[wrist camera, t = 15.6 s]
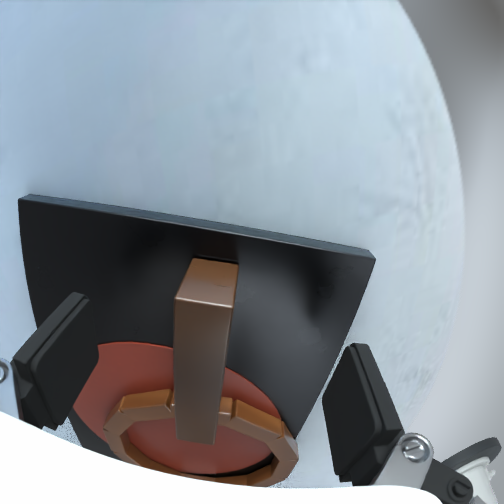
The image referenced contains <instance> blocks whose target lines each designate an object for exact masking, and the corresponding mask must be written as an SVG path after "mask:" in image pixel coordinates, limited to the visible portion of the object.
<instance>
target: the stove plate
mask: <svg viewBox="0 0 504 504" xmlns="http://www.w3.org/2000/svg"><path fill="white" fill-rule="evenodd" d="M18 211H19V225H20V236H21V245H22V254H23V261H24V268H25V274H26V280H27V285H28V290H29V295H30V300H31V305H32V309H33V314H34V318H35V322H36V326H37V329H38V328H39V327H40V326H41V325H42V323H43V322H44V321H45V320H46V319H47V318H48V317H49V316H50V315H51V314H52V313H53V312H54V311H55V310H56V309H57V307H58V306H59V305H60V304H61V303H62V302H63V301H64V300H65V299H66V298H67V297H68V296H69V295H70V294H71V293H73V292H76V293H80V294H83V295H86V296H88V298H89V300H90V301H91V302H92V307H93V316H94V324H95V331H96V338H97V344H98V350H99V360H98V363H97V365H96V366H95V368H94V370H93V372H92V373H91V375H90V377H89V378H88V380H87V382H86V384H85V385H84V387H83V389H82V391H81V392H80V394H79V396H78V398H77V399H76V401H75V403H74V405H73V407H72V408H71V410H70V412H69V414H68V418H69V420H70V422H71V425H72V427H73V429H74V431H75V433H76V435H77V437H78V439H79V441H80V443H81V445H82V447H83V448H85V449H88V450H90V451H93V452H96V453H99V454H101V455H104V456H107V457H110V458H113V459H116V460H119V461H123V460H121V459H120V458H119V457H118V456H117V455H115V454H114V453H113V451H111V449H110V446H109V444H108V442H107V439H106V437H105V434H104V432H103V425H104V422H105V420H106V418H107V415H108V414H109V413H110V411H111V410H112V409H113V408H114V407H115V406H116V404H117V403H118V402H119V401H120V400H121V399H122V397H123V396H125V397H126V396H127V395H131V394H138V393H145V392H152V391H158V390H164V389H171V391H172V392H173V391H174V374H173V315H174V297H175V295H176V293H177V291H178V289H179V286H180V284H181V282H182V280H183V278H184V276H185V274H186V271H187V269H188V267H189V265H190V263H191V261H192V259H193V258H197V259H203V260H210V261H217V262H223V263H230V264H237V265H239V272H238V280H237V288H236V296H235V305H234V312H233V319H232V326H231V332H230V339H229V346H228V353H227V360H226V367H225V374H224V381H223V388H222V395H221V396H222V397H229V398H232V399H233V402H234V401H235V400H240V401H242V402H244V403H246V404H248V405H250V406H252V407H254V408H256V409H258V410H261V411H263V412H265V413H267V414H269V415H272V416H274V417H276V418H278V419H280V420H281V421H283V422H284V423H285V425H286V427H287V428H288V430H289V432H290V433H291V435H292V436H293V438H294V440H295V439H296V437H297V435H298V434H299V432H300V430H301V428H302V426H303V425H304V423H305V421H306V419H307V417H308V415H309V414H310V412H311V410H312V408H313V406H314V404H315V402H316V400H317V398H318V396H319V394H320V392H321V390H322V388H323V386H324V384H325V382H326V380H327V378H328V376H329V374H330V372H331V370H332V368H333V365H334V363H335V361H336V359H337V357H338V355H339V352H340V350H341V348H342V346H343V343H344V341H345V339H346V336H347V334H348V332H349V329H350V327H351V325H352V322H353V320H354V317H355V315H356V312H357V310H358V307H359V305H360V302H361V300H362V297H363V294H364V292H365V289H366V286H367V284H368V281H369V278H370V275H371V273H372V270H373V267H374V264H375V261H376V258H375V257H374V256H373V255H372V254H371V252H370V251H369V250H366V249H361V248H356V247H351V246H345V245H340V244H335V243H330V242H325V241H319V240H314V239H309V238H304V237H298V236H293V235H287V234H282V233H276V232H271V231H265V230H260V229H254V228H248V227H243V226H237V225H231V224H225V223H219V222H213V221H207V220H202V219H195V218H189V217H183V216H177V215H171V214H165V213H158V212H152V211H145V210H139V209H132V208H126V207H119V206H112V205H106V204H99V203H92V202H85V201H78V200H70V199H63V198H56V197H48V196H40V195H33V194H29V195H27V196H24V197H22V198H19V199H18ZM126 430H127V434H128V437H129V440H130V442H131V443H132V444H133V445H134V446H135V447H136V448H137V449H139V450H140V451H141V452H142V453H143V454H144V455H146V456H147V457H148V458H149V459H150V460H152V461H155V462H157V463H159V464H162V465H164V466H166V467H169V468H171V469H173V470H176V471H178V472H181V473H186V474H192V475H198V476H205V477H212V478H221V477H232V476H241V475H248V474H250V473H252V472H255V471H257V470H259V469H261V468H263V467H265V466H267V465H270V464H271V462H272V460H273V458H274V456H275V455H274V454H273V452H272V451H271V450H270V449H269V447H268V446H267V445H266V443H265V442H262V441H260V440H257V439H255V438H252V437H250V436H247V435H245V434H242V433H240V432H238V431H235V430H233V429H231V428H228V427H226V426H220V425H217V431H216V438H215V444H214V445H208V444H201V443H195V442H189V441H184V440H178V439H177V438H176V427H175V418H168V419H159V420H148V421H136V422H134V423H133V424H132V425H131V426H130V427H129V428H128V429H126ZM123 462H124V461H123Z"/></svg>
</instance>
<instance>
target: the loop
mask: <svg viewBox="0 0 504 504" xmlns="http://www.w3.org/2000/svg"><path fill="white" fill-rule="evenodd" d="M238 272H239V265H237V264H230V263H223V262H217V261H210V260H203V259H197V258H193V259H192V261H191V263H190V265H189V267H188V269H187V271H186V274H185V276H184V278H183V280H182V282H181V284H180V286H179V289H178V291H177V293H176V295H175V297H174V315H173V374H174V391H173V392H172V391H171V389H164V390H158V391H152V392H145V393H138V394H131V395H127V396H126V397H125V396H123V397H122V399H121V400H120V401H119V402H118V403H117V404H116V406H115V407H114V408H113V409H112V410H111V411H110V413H109V414H108V415H107V418H106V420H105V422H104V425H103V432H104V434H105V437H106V439H107V442H108V444H109V446H110V449H111V451H113V453H114V454H115V455H117V456H118V457H119V458H120V459H121V460H123V461H124V462H126V463H129V464H133V465H136V466H140V467H143V468H147V469H151V470H155V471H159V472H163V473H167V474H172V475H177V476H181V477H186V478H192V479H197V480H203V481H210V482H216V483H224V484H232V485H242V486H253V487H269V486H271V485H274V484H276V483H278V482H281V481H283V480H285V478H287V477H288V476H289V474H290V473H291V471H292V470H293V468H294V467H295V465H296V463H297V462H298V460H299V455H298V445H297V443H296V441H295V440H294V438H293V436H292V435H291V433H290V432H289V430H288V428H287V427H286V425H285V423H284V422H283V421H281V420H280V419H278V418H276V417H274V416H272V415H269V414H267V413H265V412H263V411H261V410H258V409H256V408H254V407H252V406H250V405H248V404H246V403H244V402H242V401H240V400H235V401H234V402H233V399H232V398H229V397H222V396H221V395H222V388H223V381H224V374H225V367H226V360H227V353H228V346H229V339H230V332H231V326H232V319H233V312H234V305H235V296H236V288H237V280H238ZM168 418H175V427H176V438H177V439H178V440H184V441H189V442H195V443H201V444H208V445H214V444H215V438H216V431H217V425H220V426H226V427H228V428H231V429H233V430H235V431H238V432H240V433H242V434H245V435H247V436H250V437H252V438H255V439H257V440H260V441H262V442H265V443H266V445H267V446H268V447H269V449H270V450H271V451H272V452H273V454H274V455H275V456H274V458H273V460H272V462H271V464H270V465H267V466H265V467H263V468H261V469H259V470H257V471H255V472H252V473H250V474H248V475H241V476H232V477H221V478H212V477H205V476H198V475H192V474H186V473H181V472H178V471H176V470H173V469H171V468H169V467H166V466H164V465H162V464H159V463H157V462H155V461H152V460H150V459H149V458H148V457H147V456H146V455H144V454H143V453H142V452H141V451H140V450H139V449H137V448H136V447H135V446H134V445H133V444H132V443H131V442H130V440H129V437H128V434H127V430H126V429H128V428H129V427H130V426H131V425H132V424H133V423H134V422H136V421H148V420H159V419H168Z"/></svg>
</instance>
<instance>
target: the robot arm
mask: <svg viewBox="0 0 504 504" xmlns="http://www.w3.org/2000/svg"><path fill="white" fill-rule="evenodd" d="M98 360H99V350H98V344H97V338H96V331H95V324H94V316H93V307H92V302H91V301H90V300H89V298H88V296H86V295H83V294H80V293H76V292H73V293H71V294H70V295H69V296H68V297H67V298H66V299H65V300H64V301H63V302H62V303H61V304H60V305H59V306H58V307H57V309H56V310H55V311H54V312H53V313H52V314H51V315H50V316H49V317H48V318H47V319H46V320H45V321H44V322H43V323H42V325H41V326H40V327H39V328H38V329H37V330H36V331H35V332H34V333H33V334H32V336H31V337H30V338H29V339H28V340H27V341H26V342H25V344H24V345H23V346H22V347H21V348H20V349H19V350H18V352H17V353H16V354H15V355H14V356H13V360H12V361H11V362H10V363H9V362H8V361H7V360H5V359H3V358H0V504H499V503H498V501H497V498H496V496H495V493H494V491H493V488H492V486H491V484H490V481H491V479H492V476H494V475H495V470H492V471H490V472H488V470H487V468H486V467H487V466H488V464H489V463H490V460H489V457H481V458H478V459H476V460H474V461H472V462H470V463H468V464H466V465H464V466H462V467H461V468H459V469H457V470H453V469H451V468H449V467H447V466H446V465H444V464H442V463H440V462H439V461H437V460H435V459H433V454H434V451H433V447H432V445H431V443H430V441H429V440H428V439H427V438H425V437H424V436H422V435H420V434H417V433H407V434H405V432H404V430H403V427H402V424H401V422H400V419H399V417H398V414H397V412H396V409H395V406H394V404H393V401H392V399H391V396H390V394H389V392H388V389H387V387H386V384H385V382H384V380H383V378H382V376H381V373H380V371H379V369H378V366H377V364H376V362H375V359H374V357H373V355H372V352H371V350H370V348H369V346H368V345H367V344H360V343H352V344H351V345H350V347H349V346H347V347H346V348H345V350H344V352H343V354H342V357H341V359H340V361H339V363H338V365H337V367H336V370H335V372H334V374H333V376H332V378H331V380H330V382H329V384H328V386H327V388H326V390H325V392H324V394H323V397H322V405H323V411H324V416H325V421H326V427H327V432H328V438H329V444H330V449H331V455H332V461H333V467H334V472H335V474H336V475H339V480H340V482H351V481H352V485H353V487H339V488H267V487H253V486H242V485H232V484H224V483H216V482H210V481H203V480H197V479H192V478H186V477H181V476H177V475H172V474H167V473H163V472H159V471H155V470H151V469H147V468H143V467H140V466H136V465H133V464H129V463H126V462H123V461H119V460H116V459H113V458H110V457H107V456H104V455H101V454H99V453H96V452H93V451H90V450H88V449H85V448H83V447H80V446H78V445H75V444H73V443H70V442H68V441H66V440H63V439H61V438H59V437H56V436H54V435H52V434H49V433H47V432H45V431H43V430H42V428H43V426H46V427H48V428H50V429H52V430H54V431H56V429H57V427H58V425H62V424H63V423H64V421H65V420H66V418H67V416H68V414H69V412H70V410H71V408H72V407H73V405H74V403H75V401H76V399H77V398H78V396H79V394H80V392H81V391H82V389H83V387H84V385H85V384H86V382H87V380H88V378H89V377H90V375H91V373H92V372H93V370H94V368H95V366H96V365H97V363H98Z"/></svg>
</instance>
